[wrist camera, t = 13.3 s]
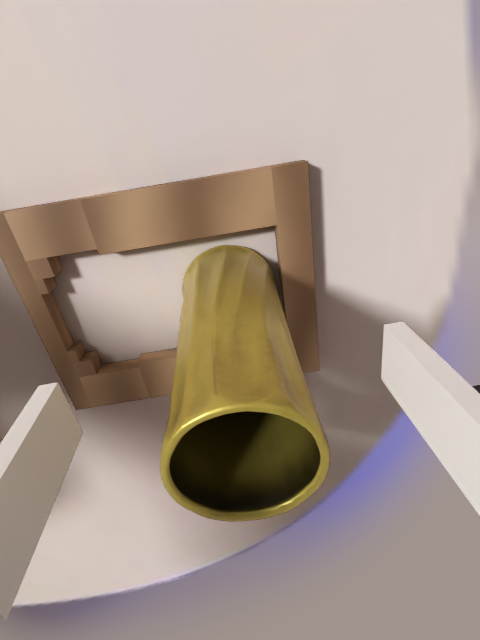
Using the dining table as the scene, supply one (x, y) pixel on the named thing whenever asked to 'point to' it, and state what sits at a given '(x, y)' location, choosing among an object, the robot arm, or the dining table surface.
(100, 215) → the keyhole board
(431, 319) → the dining table surface
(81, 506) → the dining table surface
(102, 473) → the dining table surface
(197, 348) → the vase
